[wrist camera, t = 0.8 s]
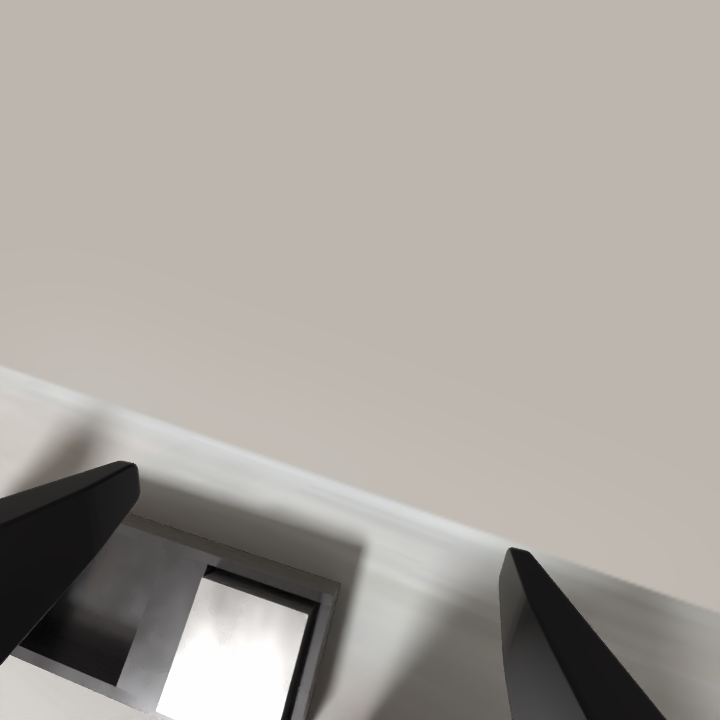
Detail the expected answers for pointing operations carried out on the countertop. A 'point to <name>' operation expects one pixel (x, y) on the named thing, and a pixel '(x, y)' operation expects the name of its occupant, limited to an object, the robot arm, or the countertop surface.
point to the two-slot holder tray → (188, 628)
